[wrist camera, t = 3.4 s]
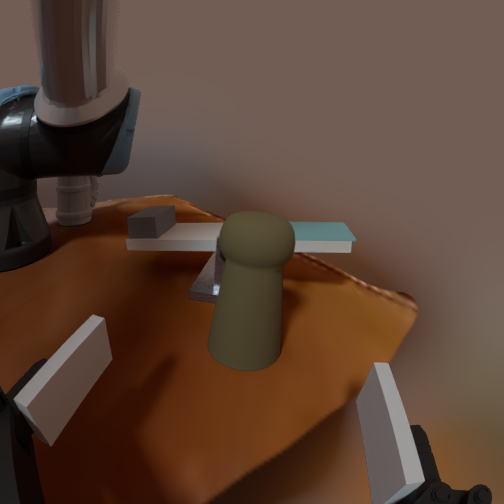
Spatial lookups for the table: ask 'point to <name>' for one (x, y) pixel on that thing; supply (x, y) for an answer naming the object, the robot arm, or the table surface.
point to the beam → (205, 234)
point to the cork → (251, 290)
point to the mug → (75, 199)
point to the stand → (209, 278)
